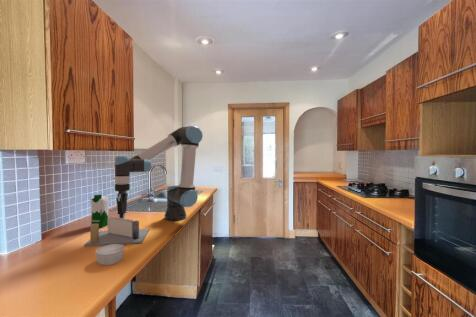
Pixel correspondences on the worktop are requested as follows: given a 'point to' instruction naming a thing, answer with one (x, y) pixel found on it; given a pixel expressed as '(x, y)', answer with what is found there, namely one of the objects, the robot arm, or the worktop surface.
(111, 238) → the board
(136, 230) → the hinge post
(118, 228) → the rod
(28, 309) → the worktop surface
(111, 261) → the ramekin
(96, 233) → the post
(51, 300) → the worktop surface
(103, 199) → the milk carton
